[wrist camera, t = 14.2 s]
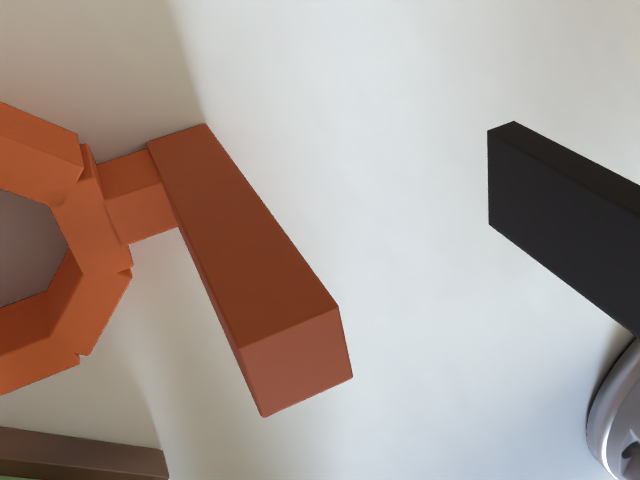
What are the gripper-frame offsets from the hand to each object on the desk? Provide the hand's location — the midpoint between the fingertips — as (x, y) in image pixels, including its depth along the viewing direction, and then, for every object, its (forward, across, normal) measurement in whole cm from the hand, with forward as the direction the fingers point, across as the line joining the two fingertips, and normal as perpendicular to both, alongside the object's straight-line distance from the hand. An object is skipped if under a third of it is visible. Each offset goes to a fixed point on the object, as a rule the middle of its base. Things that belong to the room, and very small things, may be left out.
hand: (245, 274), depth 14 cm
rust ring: (+7, +5, 0) cm, 9 cm away
